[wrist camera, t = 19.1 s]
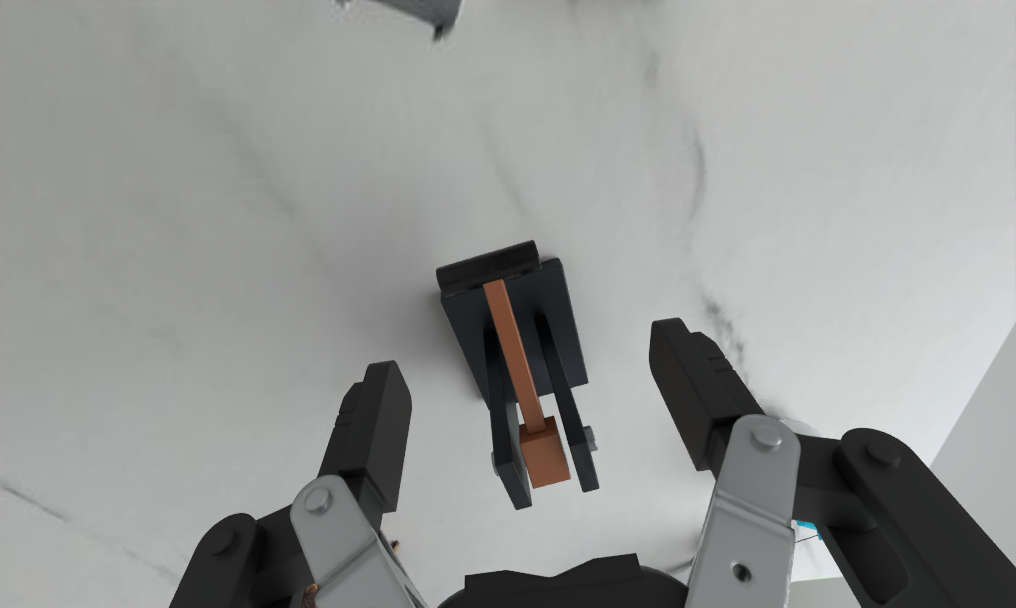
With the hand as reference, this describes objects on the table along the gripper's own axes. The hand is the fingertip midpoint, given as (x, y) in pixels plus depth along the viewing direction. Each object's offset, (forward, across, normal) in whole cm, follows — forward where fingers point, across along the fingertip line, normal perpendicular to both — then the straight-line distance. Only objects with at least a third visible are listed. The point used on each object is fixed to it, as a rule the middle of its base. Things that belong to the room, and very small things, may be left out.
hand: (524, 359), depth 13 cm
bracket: (+15, 0, +13) cm, 20 cm away
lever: (+8, +1, +8) cm, 11 cm away
